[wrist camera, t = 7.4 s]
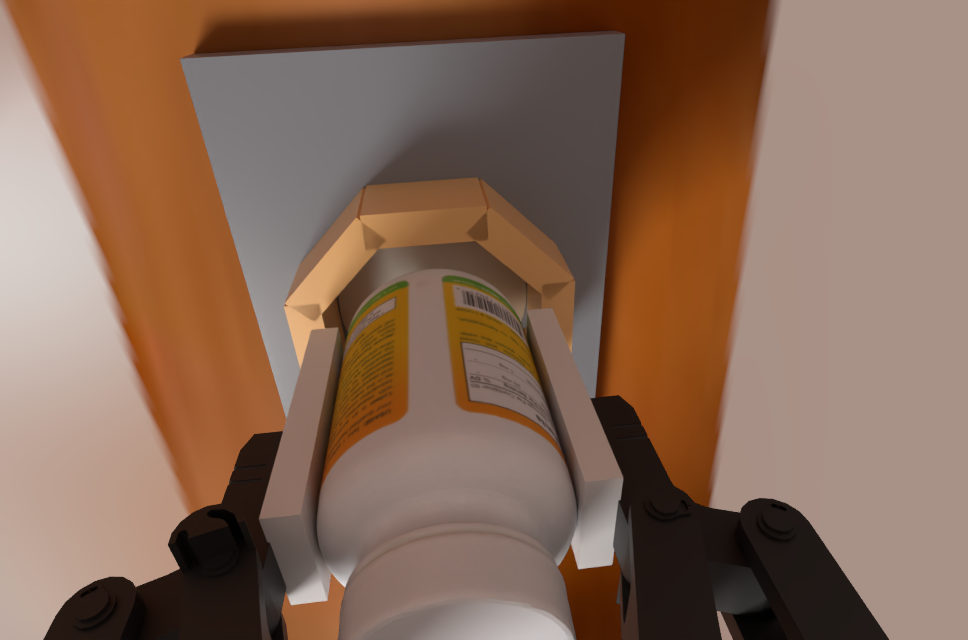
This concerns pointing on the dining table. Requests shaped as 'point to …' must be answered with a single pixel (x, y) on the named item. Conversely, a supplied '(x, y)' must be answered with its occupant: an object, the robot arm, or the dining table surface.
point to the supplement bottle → (444, 471)
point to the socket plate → (415, 175)
